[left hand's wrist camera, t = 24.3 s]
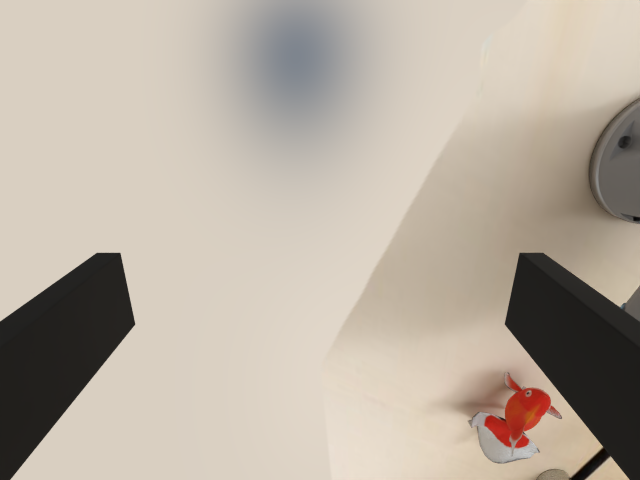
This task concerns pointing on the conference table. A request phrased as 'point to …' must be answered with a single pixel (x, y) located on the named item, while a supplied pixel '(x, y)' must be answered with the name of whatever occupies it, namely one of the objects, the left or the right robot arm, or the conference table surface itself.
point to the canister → (554, 475)
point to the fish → (513, 424)
